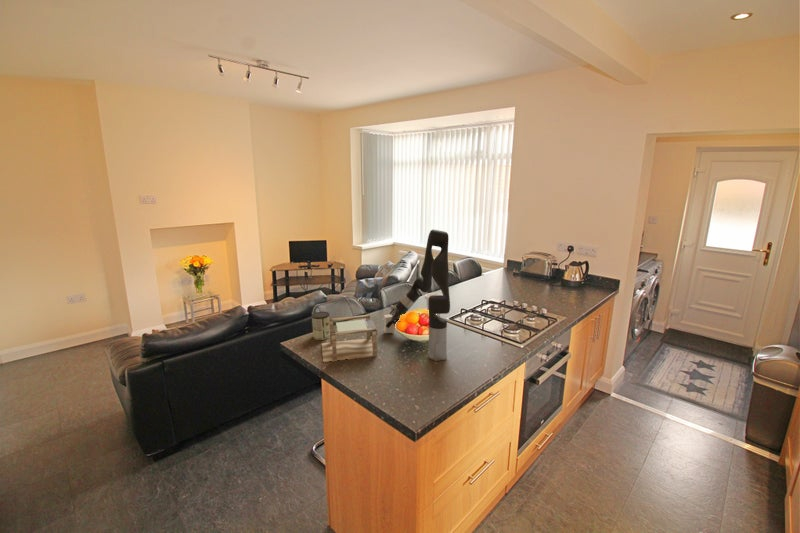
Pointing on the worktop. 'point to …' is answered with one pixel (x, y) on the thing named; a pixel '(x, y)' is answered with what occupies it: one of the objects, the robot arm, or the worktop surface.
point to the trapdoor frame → (349, 343)
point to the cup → (428, 299)
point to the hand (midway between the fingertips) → (386, 325)
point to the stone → (386, 320)
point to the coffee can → (321, 325)
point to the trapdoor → (355, 325)
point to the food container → (393, 307)
